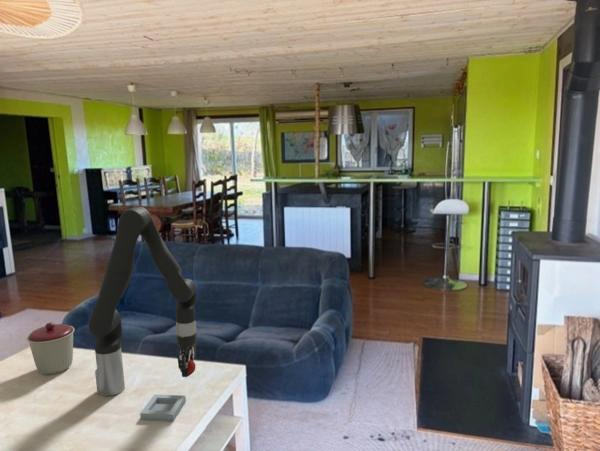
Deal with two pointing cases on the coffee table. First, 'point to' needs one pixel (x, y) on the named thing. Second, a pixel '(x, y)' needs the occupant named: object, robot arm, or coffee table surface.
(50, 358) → the canister
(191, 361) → the onion
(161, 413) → the base plate
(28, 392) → the coffee table surface
